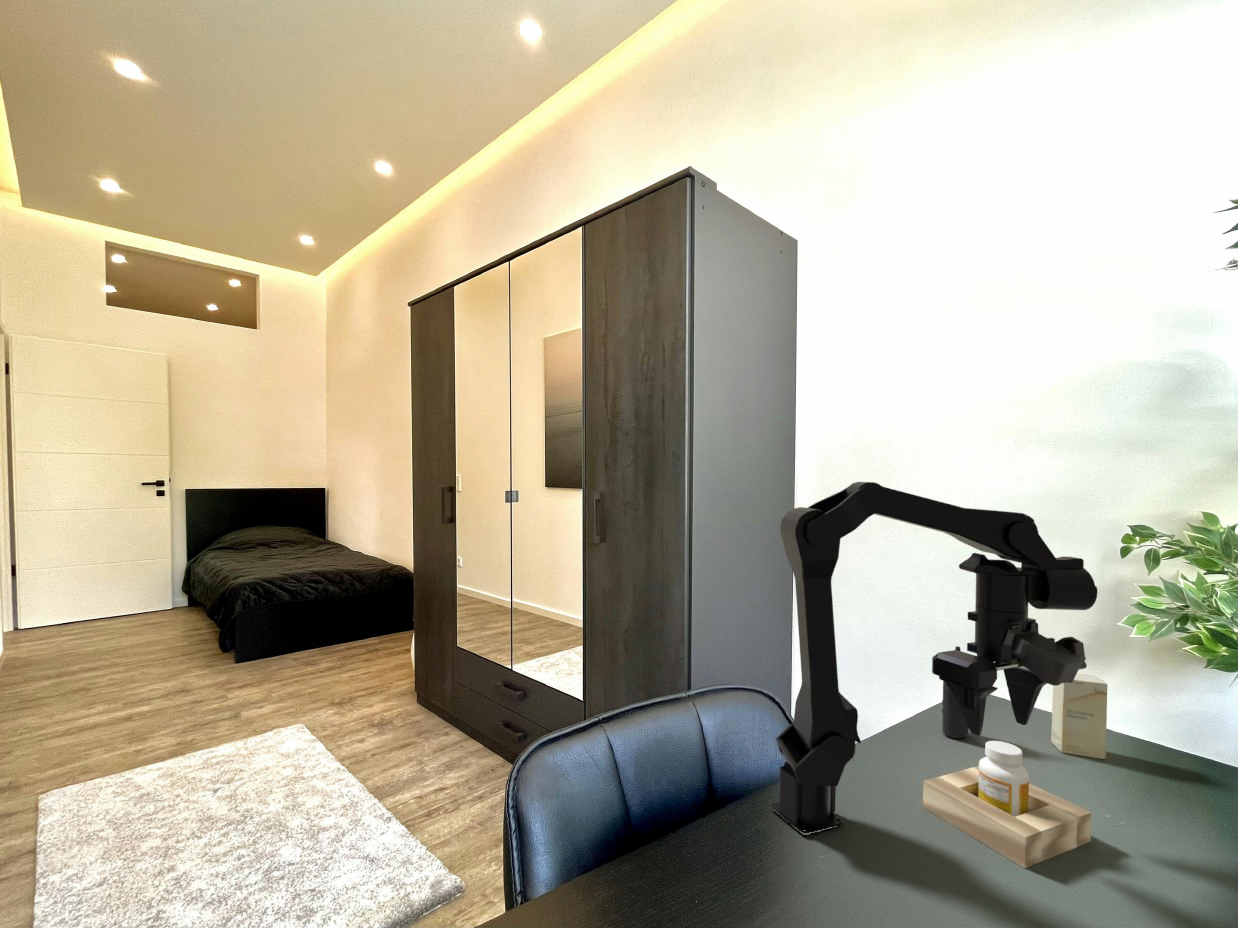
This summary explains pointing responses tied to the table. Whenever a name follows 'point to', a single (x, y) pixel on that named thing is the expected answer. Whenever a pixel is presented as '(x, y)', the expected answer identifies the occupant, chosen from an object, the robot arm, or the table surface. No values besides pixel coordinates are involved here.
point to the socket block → (1008, 819)
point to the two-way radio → (952, 715)
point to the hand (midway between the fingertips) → (999, 728)
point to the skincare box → (1080, 716)
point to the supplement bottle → (1004, 778)
